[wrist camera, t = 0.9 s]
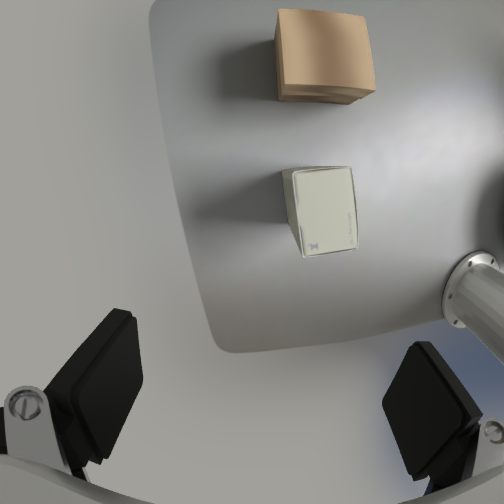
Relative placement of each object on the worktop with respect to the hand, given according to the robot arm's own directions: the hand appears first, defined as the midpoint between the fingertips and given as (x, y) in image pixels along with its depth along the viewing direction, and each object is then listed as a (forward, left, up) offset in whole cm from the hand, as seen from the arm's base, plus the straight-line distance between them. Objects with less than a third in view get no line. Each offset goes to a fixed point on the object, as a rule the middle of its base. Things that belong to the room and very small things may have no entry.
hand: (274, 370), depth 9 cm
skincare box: (-4, -3, -24) cm, 25 cm away
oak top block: (-6, -17, -20) cm, 27 cm away
